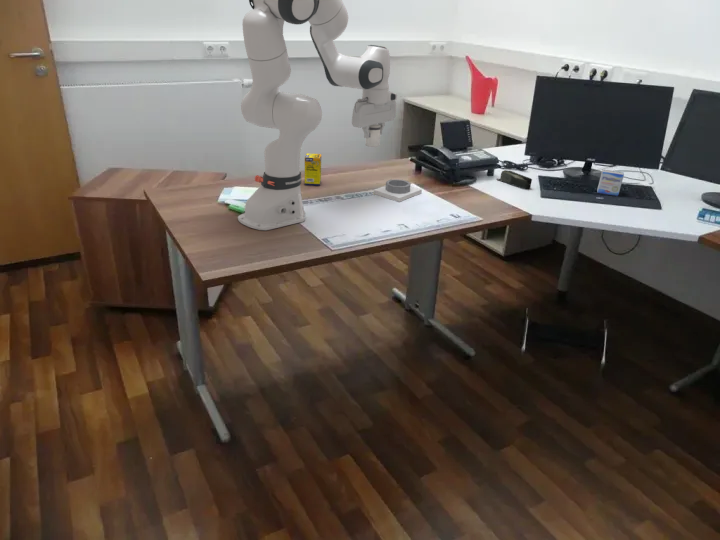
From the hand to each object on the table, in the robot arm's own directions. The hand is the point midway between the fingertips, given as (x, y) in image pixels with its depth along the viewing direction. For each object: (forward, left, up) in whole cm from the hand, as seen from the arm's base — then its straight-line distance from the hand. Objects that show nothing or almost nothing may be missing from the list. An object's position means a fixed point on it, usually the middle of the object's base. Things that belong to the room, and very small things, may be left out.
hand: (373, 136), depth 195 cm
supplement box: (-7, +23, -22) cm, 32 cm away
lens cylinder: (0, 0, -3) cm, 3 cm away
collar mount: (+8, -7, -21) cm, 24 cm away
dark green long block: (+52, -32, -22) cm, 65 cm away
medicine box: (+71, -63, -22) cm, 98 cm away
